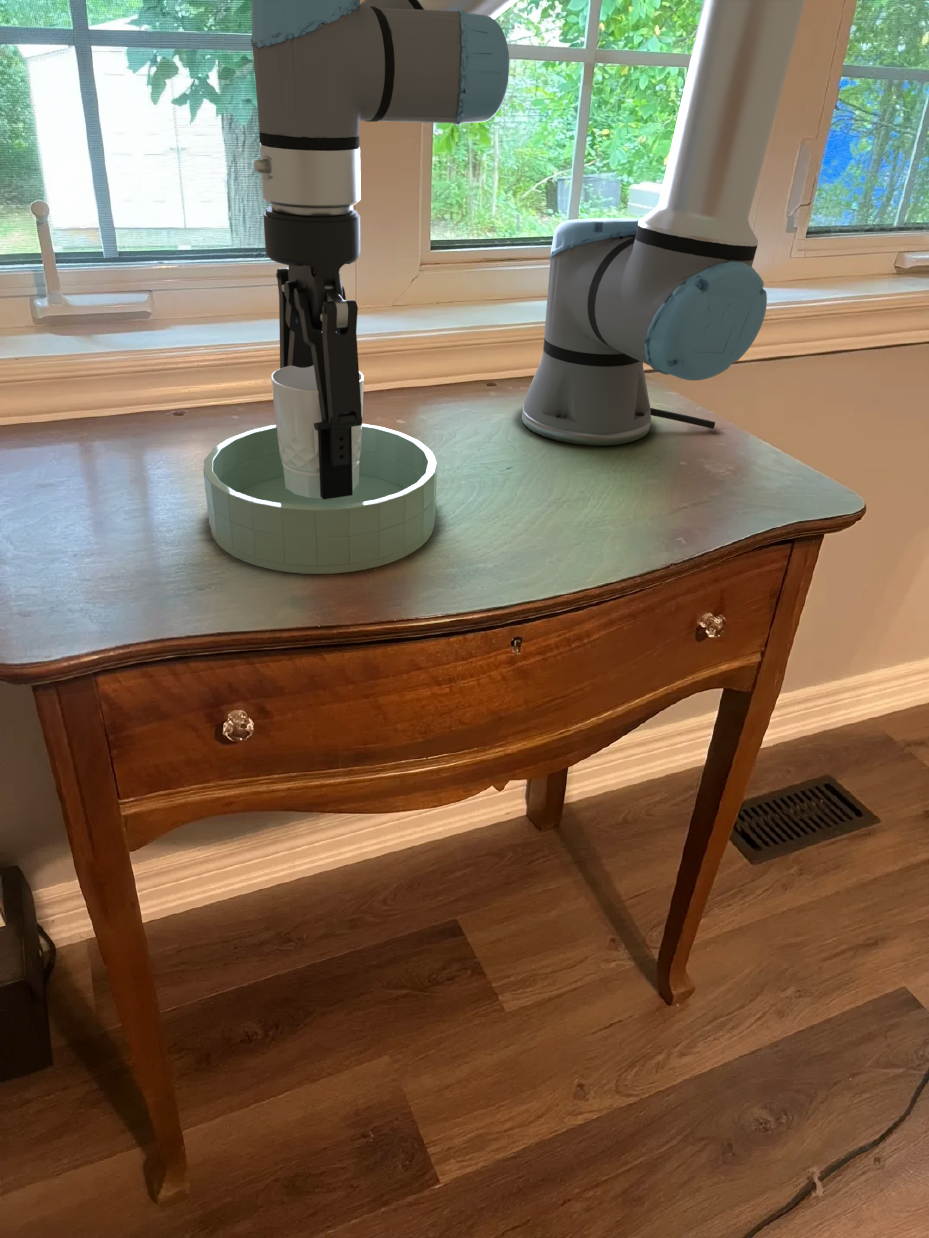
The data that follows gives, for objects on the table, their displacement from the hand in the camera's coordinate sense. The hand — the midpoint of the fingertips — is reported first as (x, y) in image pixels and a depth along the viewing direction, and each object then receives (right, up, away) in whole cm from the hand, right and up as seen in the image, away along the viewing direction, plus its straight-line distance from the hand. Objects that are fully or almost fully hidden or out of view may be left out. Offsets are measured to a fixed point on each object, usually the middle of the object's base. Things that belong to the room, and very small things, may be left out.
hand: (321, 477), depth 85 cm
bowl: (0, -4, +2) cm, 4 cm away
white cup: (0, -1, 0) cm, 1 cm away
